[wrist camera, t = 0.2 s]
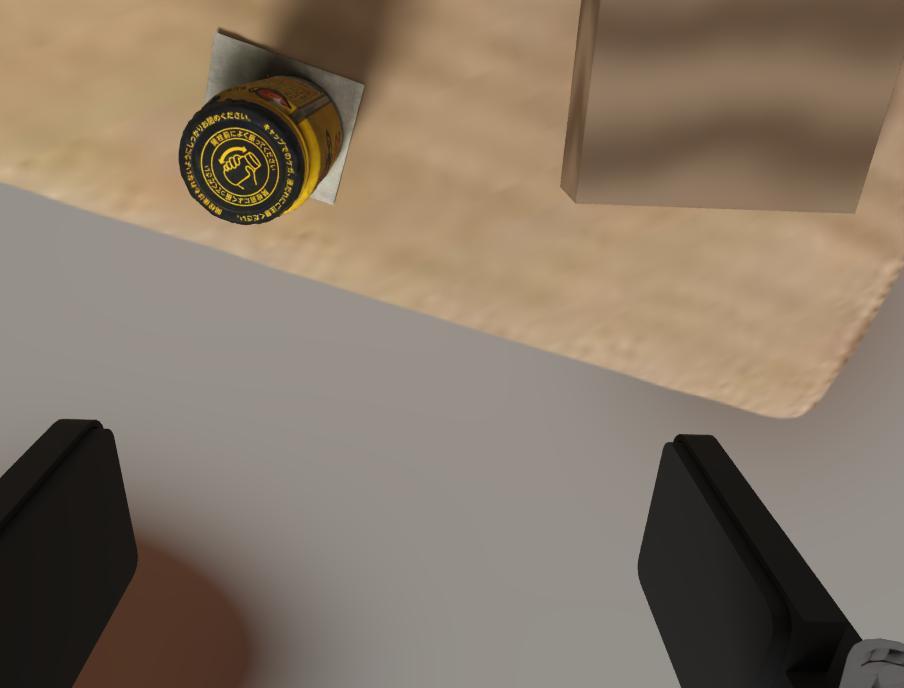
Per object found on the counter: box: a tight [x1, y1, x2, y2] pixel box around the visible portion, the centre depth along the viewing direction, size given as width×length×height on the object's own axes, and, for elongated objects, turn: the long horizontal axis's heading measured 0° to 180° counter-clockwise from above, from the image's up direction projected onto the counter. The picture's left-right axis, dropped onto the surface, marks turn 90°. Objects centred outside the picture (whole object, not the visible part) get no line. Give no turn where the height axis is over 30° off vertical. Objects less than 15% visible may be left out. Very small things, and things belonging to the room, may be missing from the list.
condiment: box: [179, 32, 364, 225], centre depth 32 cm, size 7×8×12 cm
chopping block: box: [560, 0, 904, 214], centre depth 34 cm, size 20×16×5 cm
